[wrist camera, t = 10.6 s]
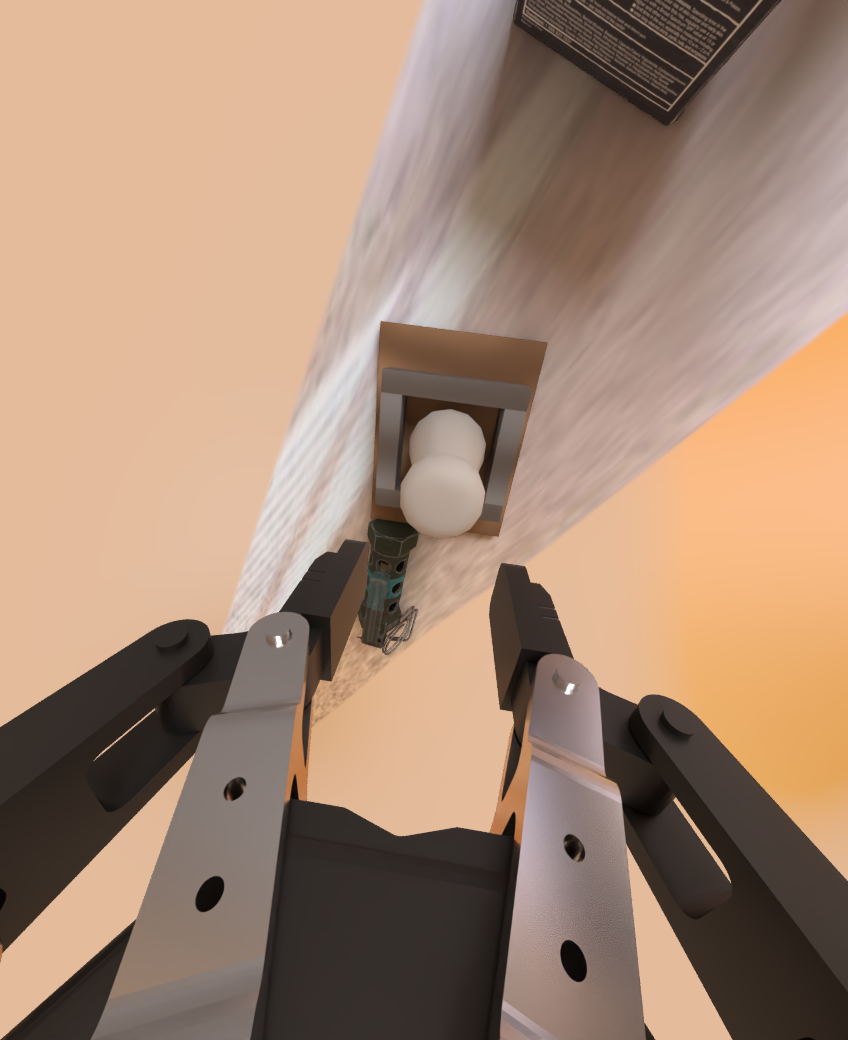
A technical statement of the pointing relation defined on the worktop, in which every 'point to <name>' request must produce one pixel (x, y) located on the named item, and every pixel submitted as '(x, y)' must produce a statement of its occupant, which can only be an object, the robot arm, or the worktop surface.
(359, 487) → the worktop surface
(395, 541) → the stun grenade
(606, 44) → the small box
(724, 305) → the worktop surface
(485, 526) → the socket board
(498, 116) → the worktop surface
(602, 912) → the robot arm
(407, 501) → the salt shaker
